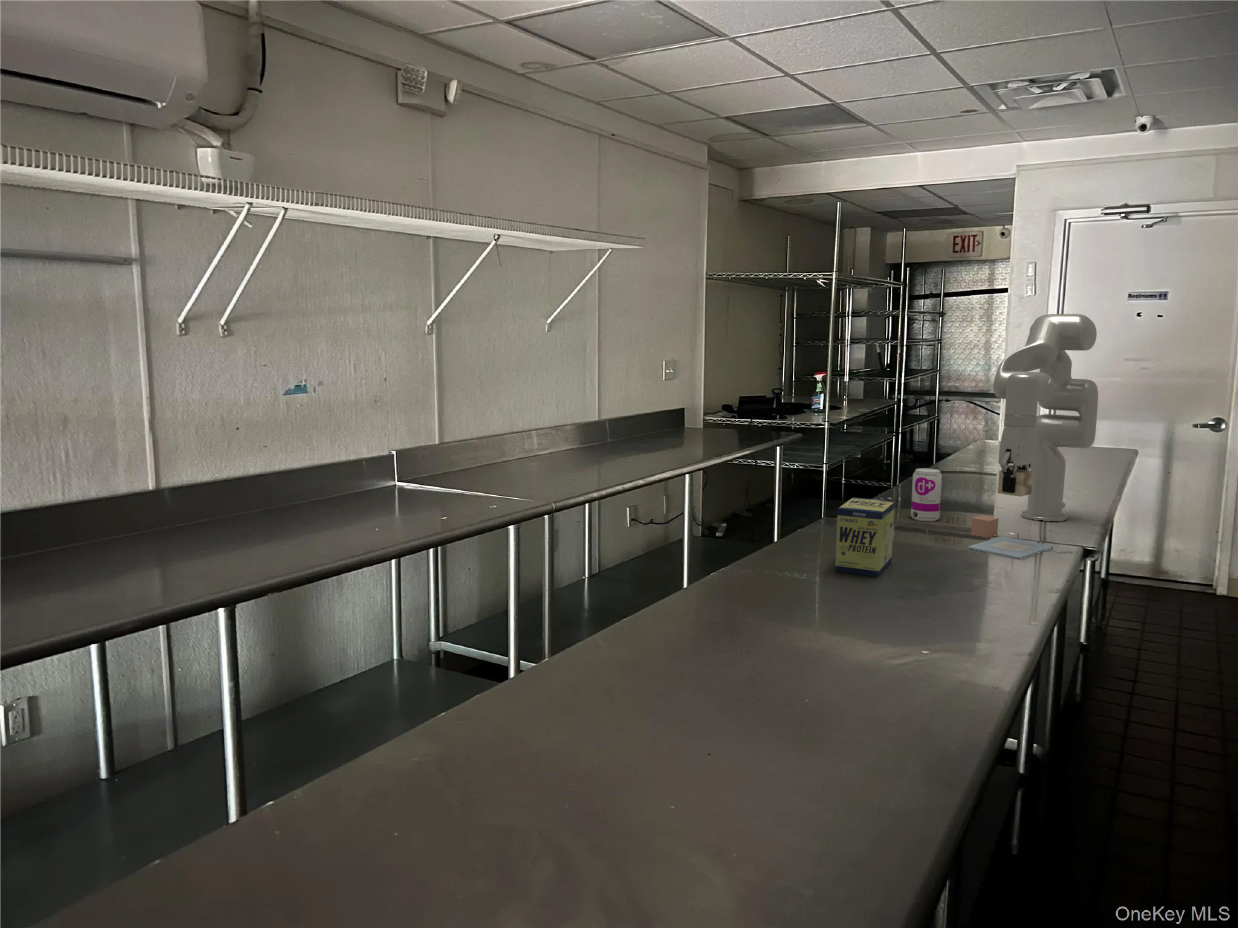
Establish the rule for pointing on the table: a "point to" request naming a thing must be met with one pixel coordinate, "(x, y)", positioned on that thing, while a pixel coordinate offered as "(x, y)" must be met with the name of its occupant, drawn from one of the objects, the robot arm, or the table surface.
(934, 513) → the supplement can
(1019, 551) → the board
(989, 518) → the top block
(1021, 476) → the base block
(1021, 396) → the robot arm
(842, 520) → the protein box
